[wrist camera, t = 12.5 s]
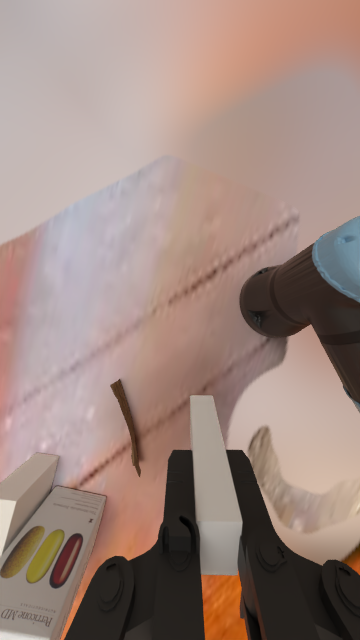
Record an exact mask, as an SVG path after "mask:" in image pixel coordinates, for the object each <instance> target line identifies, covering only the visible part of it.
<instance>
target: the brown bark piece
mask: <svg viewBox="0 0 360 640" xmlns="http://www.w3.org/2000/svg"><path fill="white" fill-rule="evenodd" d="M110 386H111V388H112V390H113V393H114V395H115V396H116V398H117V399H118V402H119V404H120V407H121V410H122V412H123V415H124V418H125V420H126V423H127V426H128V429H129V432H130V436H131V440H132V455H131V457H132V462H133V466H135V468H136V470H137V473H138V475H139V477H140V474H141V470H140V467H139V462H138V455H137V448H136V441H135V434H134V428H133V422H132V417H131V414H130V411H129V408H128V405H127V402H126V399H125V395H124V391H123V388H122V385H121V382H120V379H119V380H118V381H116V382H115V383H113V384H111V385H110Z"/></svg>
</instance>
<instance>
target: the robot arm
mask: <svg viewBox="0 0 360 640" xmlns="http://www.w3.org/2000/svg"><path fill="white" fill-rule="evenodd" d="M240 308H241V312H242V314H243V317H244V319H245V320H246V322H247V323H248V324H249V325H250V327H251V328H253V329H254V330H255V331H257V332H258V333H260V334H262V335H264V336H268V337H287V336H291V335H294V334H296V333H298V332H299V331H301V330H302V329H304V328H305V327H307V326H309V325H310V324H311V325H312V326H313V328H314V330H315V332H316V334H317V336H318V337H319V339H320V342H321V344H322V346H323V347H324V349H325V351H326V353H327V355H328V357H329V359H330V361H331V363H332V364H333V366H334V368H335V370H336V372H337V374H338V376H339V377H340V380H341V381H342V383H343V388H344V390H345V392H346V394H347V395H348V396H349V398H350V399H351V400H352V401H353V403H354V404H355V406H356V408H357V409H358V411H359V412H360V216H358V217H356V218H353V219H351V220H349V221H348V222H346V223H344V224H343V225H341V226H339V227H338V228H336V229H335V230H332V231H329V232H327V233H325V234H324V235H322V236H321V237H320V238H319V239H318V240H317V241H316V242H315V243H313V244H312V245H310V246H309V247H307V248H306V249H305V250H303V251H302V252H300V253H299V254H297V255H296V256H294V257H293V258H291V259H290V260H288V261H287V262H286V263H284V264H283V265H277V266H272V267H267V268H264V269H262V270H259V271H258V272H256V273H255V274H254V275H252V276H251V277H250V278H249V279H248V280H247V281H246V282H245V284H244V286H243V288H242V290H241V294H240ZM190 440H191V450H173V451H172V453H171V455H170V457H169V459H168V470H167V483H166V495H165V507H164V519H163V522H162V524H161V526H160V530H159V534H158V540H157V542H156V544H155V545H154V546H153V547H152V548H151V549H150V550H149V551H147V552H146V553H144V554H142V555H140V556H138V557H136V558H134V559H131V560H129V561H128V560H127V559H125V558H124V557H123V556H114V557H112V558H110V559H107V560H106V561H105V562H104V563H103V564H102V565H101V566H100V567H99V568H98V570H97V571H96V573H95V575H94V576H93V578H92V580H91V582H90V584H89V586H88V588H87V591H86V593H85V595H84V597H83V599H82V602H81V604H80V606H79V608H78V610H77V613H76V615H75V617H74V619H73V621H72V624H71V626H70V628H69V630H68V632H67V635H66V637H65V639H64V640H205V633H204V616H203V599H202V582H201V574H202V575H237V573H238V570H239V575H240V581H241V586H242V592H241V601H240V618H244V619H245V625H246V630H247V636H248V640H360V575H359V574H358V573H357V572H356V571H354V570H353V569H352V568H351V567H349V566H348V565H347V564H345V563H342V562H340V561H338V560H328V561H326V562H325V564H323V566H322V565H319V564H317V563H315V562H313V561H310V560H308V559H306V558H304V557H302V556H300V555H298V554H296V553H294V552H293V551H292V550H290V549H289V548H288V547H287V546H286V545H285V544H284V543H283V542H282V540H281V539H280V538H279V536H278V535H277V533H276V532H275V529H274V527H273V525H272V522H271V519H270V517H269V514H268V511H267V508H266V505H265V503H264V500H263V497H262V494H261V491H260V488H259V485H258V484H257V480H256V477H255V474H254V471H253V468H252V466H251V463H250V460H249V459H248V457H247V456H246V455H245V453H244V452H243V451H242V450H225V446H224V441H223V437H222V433H221V429H220V424H219V420H218V416H217V412H216V408H215V403H214V399H213V396H212V395H190Z"/></svg>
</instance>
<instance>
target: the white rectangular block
mask: <svg viewBox="0 0 360 640" xmlns="http://www.w3.org/2000/svg"><path fill="white" fill-rule="evenodd" d="M58 459H59V456H57V455H50V454H43V453H36V454H34V455H33V456H32V457H31V458H30V459H28V460H27V461H26V462H25V463H24V464H22V465H21V466H20V467H19V468H18V469H17V470H15V471H14V472H13V473H12V474H11V475H9V476H8V477H7V478H6V479H5V480H3V481H2V482H1V483H0V557H1V556H2V555H3V554H4V552H5V551H6V550H7V548H8V547H9V546H10V544H11V543H12V542H13V541H14V539H15V538H16V537H17V536H18V534H19V533H20V532H21V530H22V529H23V528H24V527H25V525H26V524H27V523H28V521H29V520H30V519H31V518H32V516H33V515H34V514H35V512H36V511H37V510H38V509H39V507H40V506H41V505H42V503H43V502H44V501H45V500H46V498H47V497H48V496H49V494H50V491H51V487H52V483H53V479H54V475H55V471H56V467H57V463H58Z"/></svg>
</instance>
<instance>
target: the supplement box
mask: <svg viewBox="0 0 360 640" xmlns="http://www.w3.org/2000/svg"><path fill="white" fill-rule="evenodd" d="M105 502H106V496H102V495H97V494H93V493H88V492H83V491H79V490H74V489H70V488H65V487H60V486H56V487H55V488H54V489H53V491H52V492H51V493H50V494H49V496H48V497H47V498H46V500H45V501H44V502H43V503H42V505H41V506H40V507H39V509H38V510H37V511H36V512H35V514H34V515H33V516H32V518H31V519H30V520H29V521H28V523H27V524H26V525H25V527H24V528H23V529H22V530H21V532H20V533H19V534H18V536H17V537H16V538H15V539H14V541H13V542H12V543H11V544H10V546H9V547H8V548H7V550H6V551H5V552H4V554H3V555H2V556H1V557H0V640H60V639H61V636H62V633H63V630H64V627H65V625H66V622H67V619H68V616H69V614H70V611H71V608H72V605H73V603H74V600H75V597H76V594H77V592H78V589H79V586H80V583H81V580H82V578H83V575H84V572H85V569H86V566H87V563H88V561H89V558H90V555H91V553H92V550H93V546H94V543H95V540H96V536H97V532H98V529H99V525H100V522H101V518H102V514H103V510H104V506H105Z"/></svg>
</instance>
